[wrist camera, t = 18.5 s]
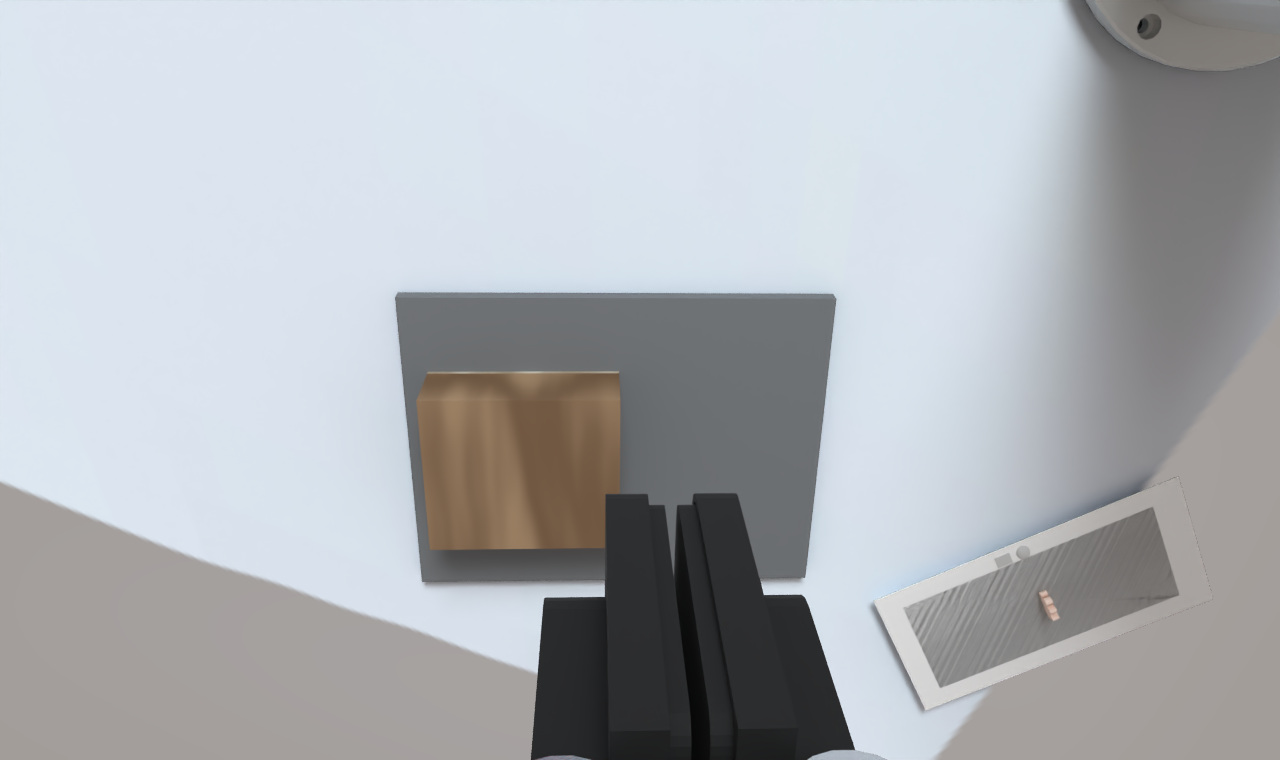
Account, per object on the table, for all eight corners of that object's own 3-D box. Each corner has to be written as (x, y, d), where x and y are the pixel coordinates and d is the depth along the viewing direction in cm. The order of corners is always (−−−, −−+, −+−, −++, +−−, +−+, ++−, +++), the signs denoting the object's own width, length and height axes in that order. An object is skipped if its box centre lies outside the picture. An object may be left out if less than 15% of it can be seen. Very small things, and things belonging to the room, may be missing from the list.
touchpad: (1200, 585, 47) (1226, 613, 45) (919, 695, 49) (932, 726, 47) (1165, 464, 44) (1192, 488, 42) (867, 587, 46) (879, 615, 44)
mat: (832, 293, 39) (836, 299, 39) (802, 569, 45) (805, 577, 45) (398, 292, 39) (395, 297, 38) (424, 573, 44) (422, 581, 44)
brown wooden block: (620, 400, 37) (416, 400, 37) (619, 548, 40) (429, 549, 40) (618, 371, 40) (427, 371, 39) (617, 512, 43) (439, 513, 42)
